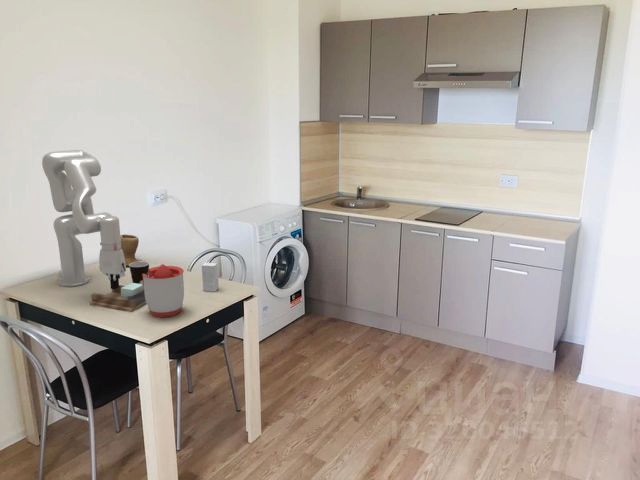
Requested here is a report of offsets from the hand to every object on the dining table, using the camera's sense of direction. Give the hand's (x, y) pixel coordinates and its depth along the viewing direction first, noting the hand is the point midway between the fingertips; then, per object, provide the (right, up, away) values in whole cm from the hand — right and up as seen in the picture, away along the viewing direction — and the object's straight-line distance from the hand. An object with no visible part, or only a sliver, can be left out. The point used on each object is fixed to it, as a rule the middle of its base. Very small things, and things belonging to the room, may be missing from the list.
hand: (115, 288), depth 225 cm
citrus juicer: (+23, -9, -10) cm, 27 cm away
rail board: (+4, -6, 0) cm, 7 cm away
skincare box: (+37, -2, +15) cm, 40 cm away
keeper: (+8, -5, -2) cm, 10 cm away
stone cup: (-14, +8, +52) cm, 54 cm away
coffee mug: (+4, 0, +21) cm, 22 cm away
